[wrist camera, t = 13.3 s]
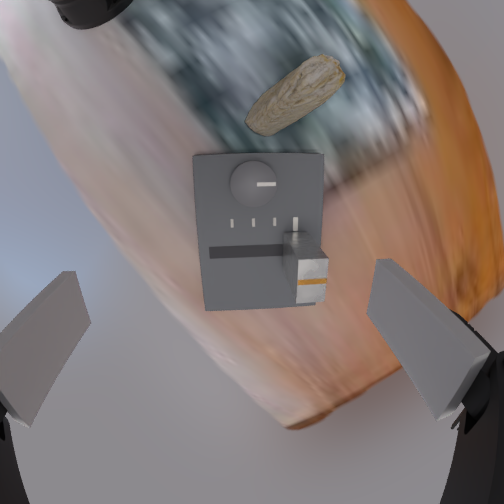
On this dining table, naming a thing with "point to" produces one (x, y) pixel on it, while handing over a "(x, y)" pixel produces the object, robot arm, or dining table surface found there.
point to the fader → (304, 267)
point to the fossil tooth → (296, 95)
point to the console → (253, 223)
